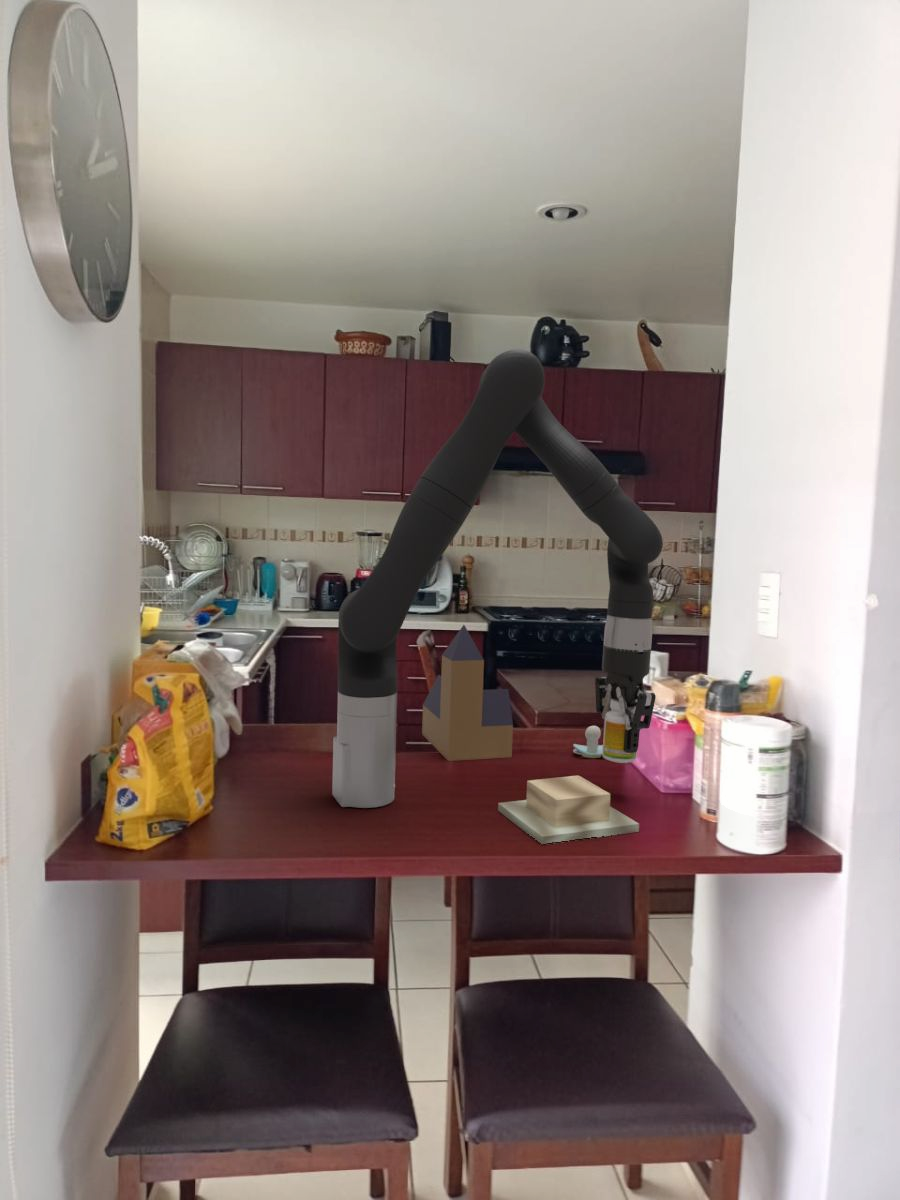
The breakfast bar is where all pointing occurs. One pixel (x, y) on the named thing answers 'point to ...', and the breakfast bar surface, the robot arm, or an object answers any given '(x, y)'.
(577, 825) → the pedestal base
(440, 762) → the breakfast bar surface
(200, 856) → the breakfast bar surface
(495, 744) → the toy building blocks
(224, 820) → the breakfast bar surface
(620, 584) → the robot arm
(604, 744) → the supplement bottle
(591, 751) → the pacifier
